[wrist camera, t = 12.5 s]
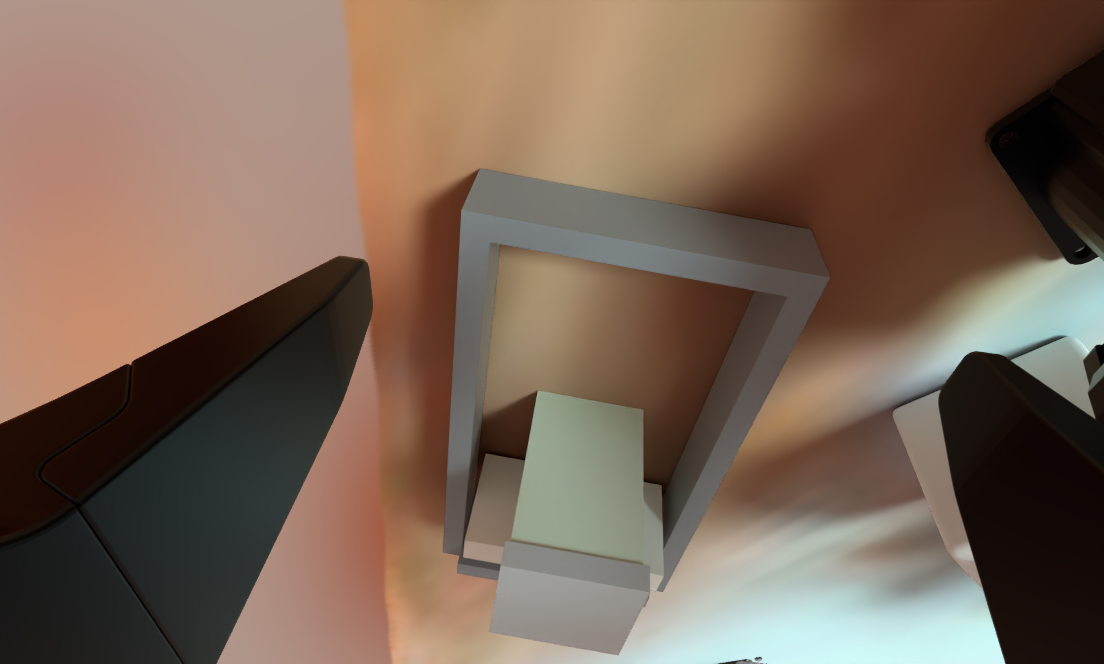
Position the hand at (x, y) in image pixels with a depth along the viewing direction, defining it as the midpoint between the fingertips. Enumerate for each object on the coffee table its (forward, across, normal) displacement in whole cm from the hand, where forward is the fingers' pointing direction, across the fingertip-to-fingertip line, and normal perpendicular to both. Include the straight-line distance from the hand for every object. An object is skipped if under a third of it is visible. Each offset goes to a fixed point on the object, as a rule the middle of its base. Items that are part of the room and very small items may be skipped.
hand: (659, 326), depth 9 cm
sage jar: (+13, 0, +18) cm, 22 cm away
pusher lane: (+13, 0, +15) cm, 20 cm away
